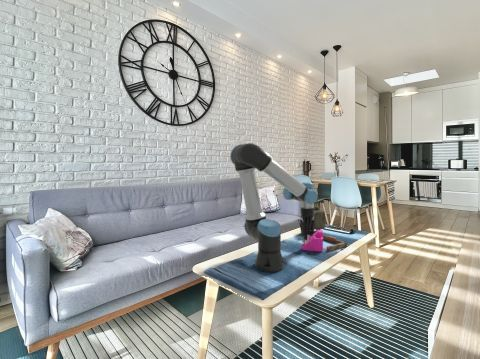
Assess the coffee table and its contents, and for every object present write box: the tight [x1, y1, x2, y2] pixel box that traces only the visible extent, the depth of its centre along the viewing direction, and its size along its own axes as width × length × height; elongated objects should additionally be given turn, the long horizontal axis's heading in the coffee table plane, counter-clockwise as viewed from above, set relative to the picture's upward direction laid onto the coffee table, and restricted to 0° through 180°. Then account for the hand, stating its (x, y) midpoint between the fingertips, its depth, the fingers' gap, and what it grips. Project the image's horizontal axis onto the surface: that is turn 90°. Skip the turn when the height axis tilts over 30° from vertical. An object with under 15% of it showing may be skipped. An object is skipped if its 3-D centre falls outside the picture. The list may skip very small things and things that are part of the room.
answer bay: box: [303, 234, 348, 252], centre depth 162 cm, size 16×22×3 cm
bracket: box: [301, 229, 324, 252], centre depth 155 cm, size 12×10×10 cm
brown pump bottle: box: [312, 199, 326, 234], centre depth 186 cm, size 14×9×25 cm, turn 179°
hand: (307, 244), depth 155 cm, fingers closed
